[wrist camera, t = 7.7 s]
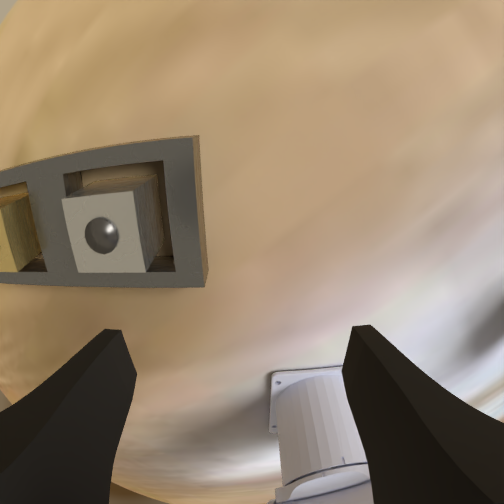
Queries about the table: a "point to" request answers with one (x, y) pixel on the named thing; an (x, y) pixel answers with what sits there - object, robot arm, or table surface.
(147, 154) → the grey rectangular slotted frame
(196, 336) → the table surface
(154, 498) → the table surface
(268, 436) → the table surface
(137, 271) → the cube with domed knob
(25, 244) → the tan wooden cube
